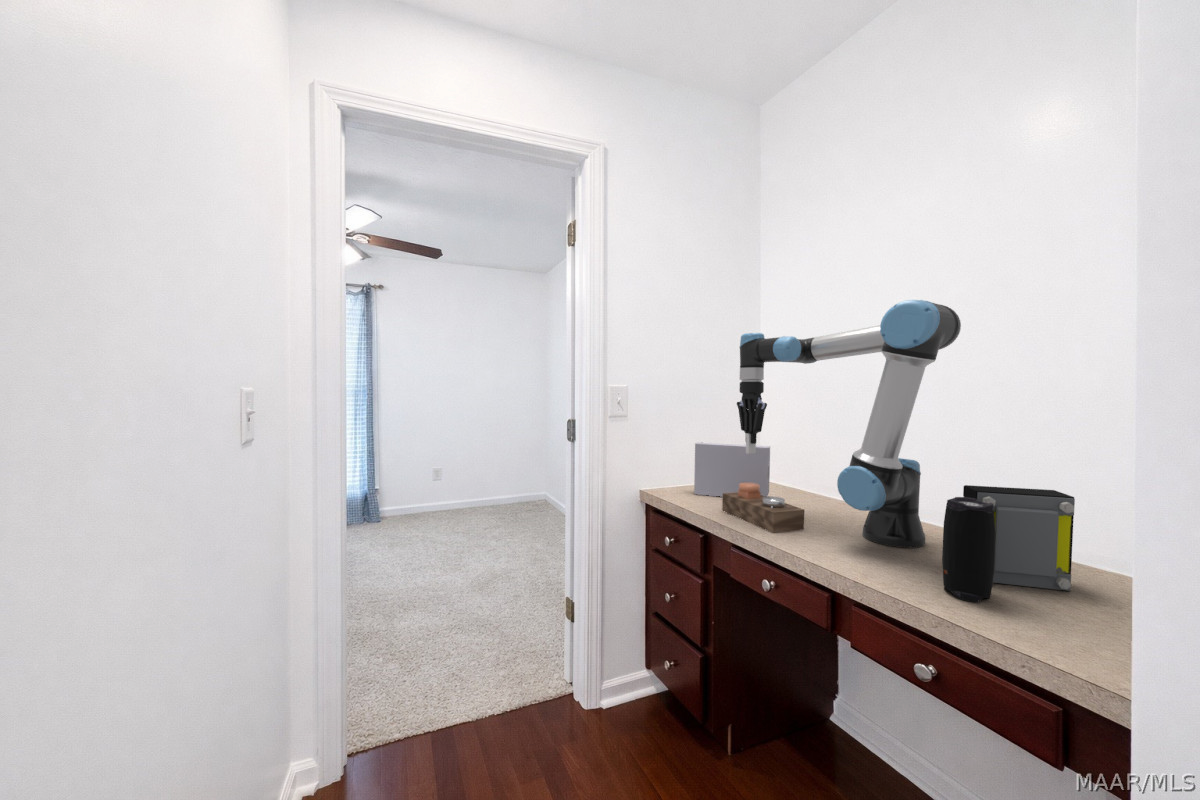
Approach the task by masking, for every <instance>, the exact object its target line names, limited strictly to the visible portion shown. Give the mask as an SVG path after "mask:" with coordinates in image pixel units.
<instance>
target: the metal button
mask: <svg viewBox="0 0 1200 800" xmlns="http://www.w3.org/2000/svg"><path fill="white" fill-rule="evenodd" d="M785 501H786V500H785V498H783V497H779V496H771V495H770V496H769V495H768V496H766V497H763V498H762V505H764V506H766V507H770V508H782V507H785V503H786V502H785Z"/></svg>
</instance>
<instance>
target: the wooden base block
mask: <svg viewBox="0 0 1200 800" xmlns="http://www.w3.org/2000/svg"><path fill="white" fill-rule="evenodd" d="M763 497H766V496H763V495H760V498H756V499H745V498H743V497H740V496H738V492H732V493H723V497H722V500H721V501H722V509H721V511H722V510H723V512H724V511H725V512H724V513H726V512H727V513H726V514H729V513H730V514H729V515H731V514H732V515H731V516H733V515H734V516H733V517H735V516H736V518H738V519H740V518H741V519H740V520H742V519H743V521H744V522H748V523H749V522H750V523H749V524H751V523H752V525H754V526H756V527H758V526H759V527H758V528H760V527H761V529H763V530H765V529H766V530H765V531H767V530H768V531H767V532H770V531H771V532H770V533H772V532H773V533H772V534H777V533H776V532H779V533H785V532H795V531H804V530H805V509H803V508H801V507H798V506H796V505H795V506H794V505H792V504H789V503H786V502H785V507H782V508H770V507H766V506H764V505H762V498H763Z"/></svg>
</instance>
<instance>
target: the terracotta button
mask: <svg viewBox="0 0 1200 800" xmlns="http://www.w3.org/2000/svg"><path fill="white" fill-rule="evenodd" d="M738 496H740V497H743V498H745V499H756V498H760V485H759V484H756V483H740V484H739V489H738Z"/></svg>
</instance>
